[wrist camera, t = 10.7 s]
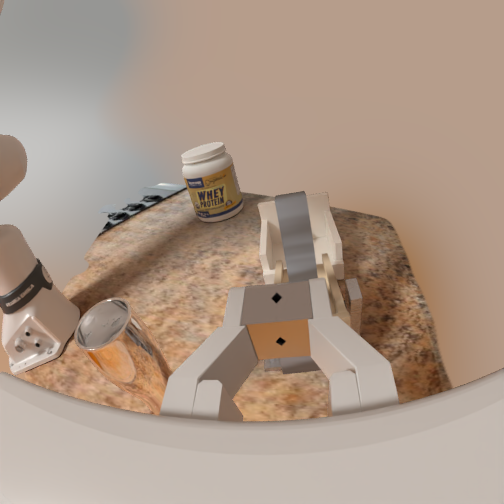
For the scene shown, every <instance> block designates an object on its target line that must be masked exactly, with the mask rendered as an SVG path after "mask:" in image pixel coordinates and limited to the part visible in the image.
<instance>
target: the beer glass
mask: <svg viewBox="0 0 504 504" xmlns="http://www.w3.org/2000/svg"><path fill="white" fill-rule="evenodd" d="M74 338H75V342H76V344H77V346H78V347H79V348H80V349H81V350H82V352H83V353H84V354H85V356H86V357H87V358H88V359H89V361H90V362H91V363H92V364H93V365H94V366H95V367H96V369H97V370H98V371H99V372H100V373H101V374H102V375H103V376H105V377H106V378H107V379H108V380H109V381H110V382H112V383H113V384H115V385H116V386H117V387H119V388H121V389H122V390H124V391H126V392H127V393H129V394H131V395H133V396H135V397H137V398H138V399H140V400H141V401H143V402H144V403H145V404H146V405H147V407H148V408H149V410H150V411H151V412H152V413H153V414H154V415H159V413H160V409H161V405H162V402H163V398H164V394H165V390H166V386H167V382H168V379H169V377H170V376H171V375H172V374H173V371H172V370H171V368H170V366H169V364H168V362H167V360H166V358H165V355H164V353H163V351H162V349H161V347H160V345H159V344H158V342H157V340H156V338H155V337H154V335H153V334H152V332H151V331H150V329H149V328H148V327H147V326H146V324H145V323H144V322H143V320H142V319H141V318H140V317H139V315H138V314H137V313H136V312H135V311H134V310H133V308H132V307H131V306H130V304H129V302H128V301H126V300H125V299H123V298H118V297H115V298H109V299H106V300H103V301H101V302H99V303H97V304H96V305H94V306H93V307H91V308H90V309H89V310H88V311H87V312H86V313H85V314H84V315H83V316H82V318H81V319H80V321H79V322H78V324H77V327H76V329H75V334H74Z"/></svg>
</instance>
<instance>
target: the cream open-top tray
mask: <svg viewBox="0 0 504 504" xmlns="http://www.w3.org/2000/svg"><path fill="white" fill-rule="evenodd" d="M306 197H307V204H308V210H309V216H310V223H311V230H312V237H313V244H314V251H315V259H316V264H323V262H322V254H325V253H328V256H329V259H330V262H331V265H332V268H333V271H334V273H335V276H336V279H337V280H340V279H344V262H343V256H342V242H341V239H340V236H339V233H338V231H337V228H336V225H335V222H334V220H333V217H332V214H331V212H330V206H329V197H328V193H327V192H325V193H319V194H312V195H306ZM258 209H259V213H260V217H261V236H260V250H259V257H260V260H261V264H262V268H263V277H264V281H265V284H266V285H267V284H274V278H275V268H276V261H278V260H282V262H283V268H284V269H287V267H286V261H285V255H284V250H283V244H282V238H281V233H280V227H279V222H278V217H277V211H276V206H275V200H274V201H268V202H262V203H258Z"/></svg>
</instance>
